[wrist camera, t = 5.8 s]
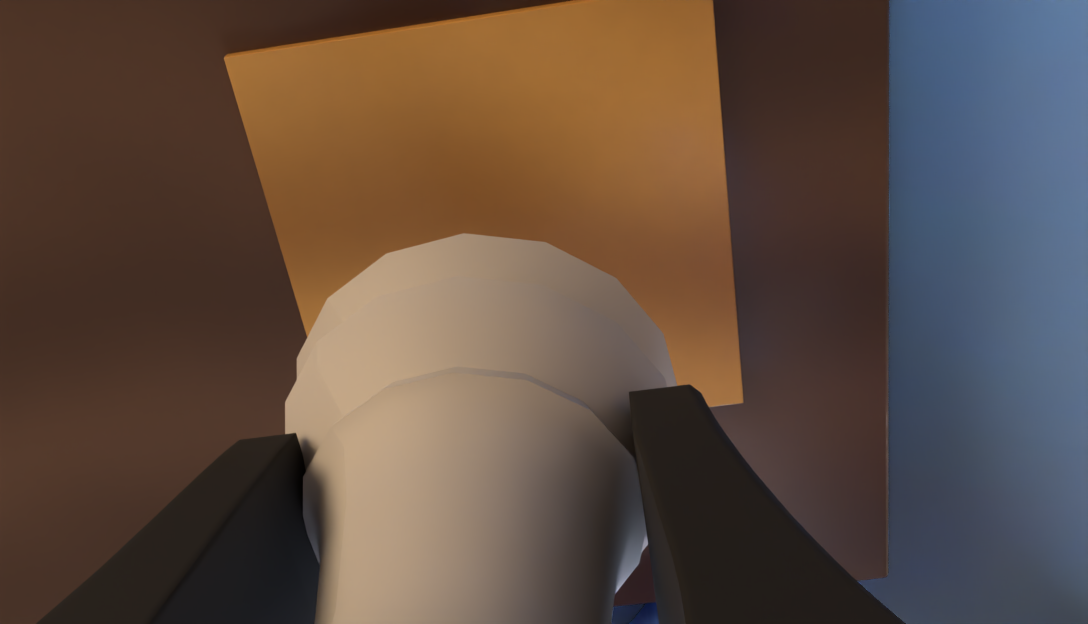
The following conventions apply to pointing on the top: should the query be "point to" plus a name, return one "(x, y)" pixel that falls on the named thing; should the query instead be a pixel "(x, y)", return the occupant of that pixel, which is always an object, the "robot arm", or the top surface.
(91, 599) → the robot arm
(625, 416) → the rook chess piece
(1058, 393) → the top surface
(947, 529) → the top surface
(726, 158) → the board
